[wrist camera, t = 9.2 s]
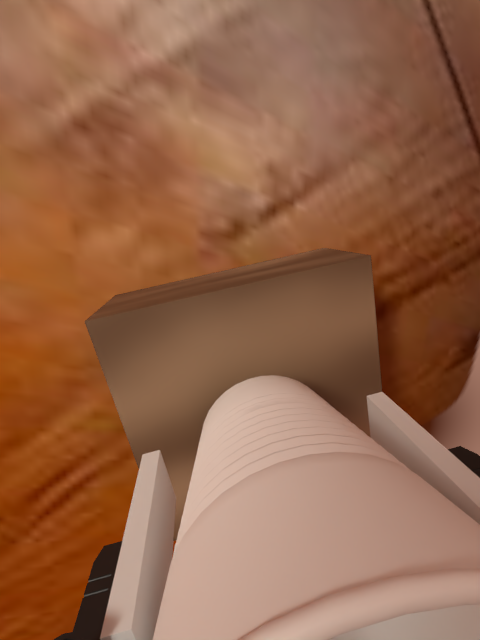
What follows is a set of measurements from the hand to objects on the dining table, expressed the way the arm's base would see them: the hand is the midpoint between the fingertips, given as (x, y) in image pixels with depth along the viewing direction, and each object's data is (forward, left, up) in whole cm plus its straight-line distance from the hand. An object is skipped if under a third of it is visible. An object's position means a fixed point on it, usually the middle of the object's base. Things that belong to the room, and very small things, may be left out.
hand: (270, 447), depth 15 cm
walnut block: (0, 0, -9) cm, 9 cm away
